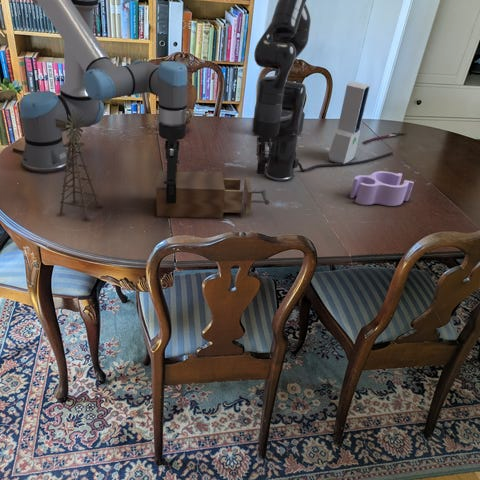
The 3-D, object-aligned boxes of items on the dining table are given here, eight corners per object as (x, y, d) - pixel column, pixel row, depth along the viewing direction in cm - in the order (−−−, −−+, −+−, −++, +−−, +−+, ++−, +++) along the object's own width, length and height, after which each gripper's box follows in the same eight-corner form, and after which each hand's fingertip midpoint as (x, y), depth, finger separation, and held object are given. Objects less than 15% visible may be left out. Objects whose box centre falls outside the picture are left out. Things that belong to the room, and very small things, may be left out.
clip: (362, 208, 153) (367, 189, 149) (343, 191, 163) (348, 173, 159) (412, 204, 159) (418, 185, 156) (392, 187, 169) (397, 170, 165)
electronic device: (344, 166, 181) (362, 88, 165) (326, 160, 185) (342, 83, 168) (355, 157, 191) (373, 82, 174) (338, 152, 194) (354, 78, 177)
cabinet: (220, 200, 149) (222, 172, 144) (222, 218, 140) (224, 189, 134) (158, 198, 146) (158, 170, 141) (156, 216, 137) (156, 187, 132)
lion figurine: (191, 127, 202) (192, 107, 197) (195, 131, 198) (195, 111, 193) (158, 128, 197) (158, 107, 192) (160, 133, 193) (160, 111, 188)
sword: (401, 132, 223) (402, 129, 222) (407, 134, 221) (407, 131, 220) (358, 143, 207) (358, 140, 206) (363, 145, 205) (364, 143, 204)
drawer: (264, 199, 150) (267, 178, 145) (268, 215, 141) (271, 192, 137) (188, 197, 147) (188, 175, 142) (188, 213, 138) (188, 190, 134)
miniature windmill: (85, 220, 131) (75, 116, 115) (58, 214, 132) (43, 110, 116) (100, 205, 139) (92, 105, 123) (74, 200, 140) (62, 101, 124)
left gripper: (186, 138, 119) (184, 213, 130) (186, 109, 138) (184, 176, 150) (156, 137, 118) (156, 212, 129) (160, 108, 137) (160, 175, 149)
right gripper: (284, 125, 124) (276, 184, 134) (276, 109, 135) (269, 164, 145) (257, 124, 124) (250, 183, 133) (251, 108, 134) (245, 163, 144)
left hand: (171, 193), depth 140 cm, fingers closed on cabinet, 11 cm apart
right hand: (260, 173), depth 139 cm, fingers closed
